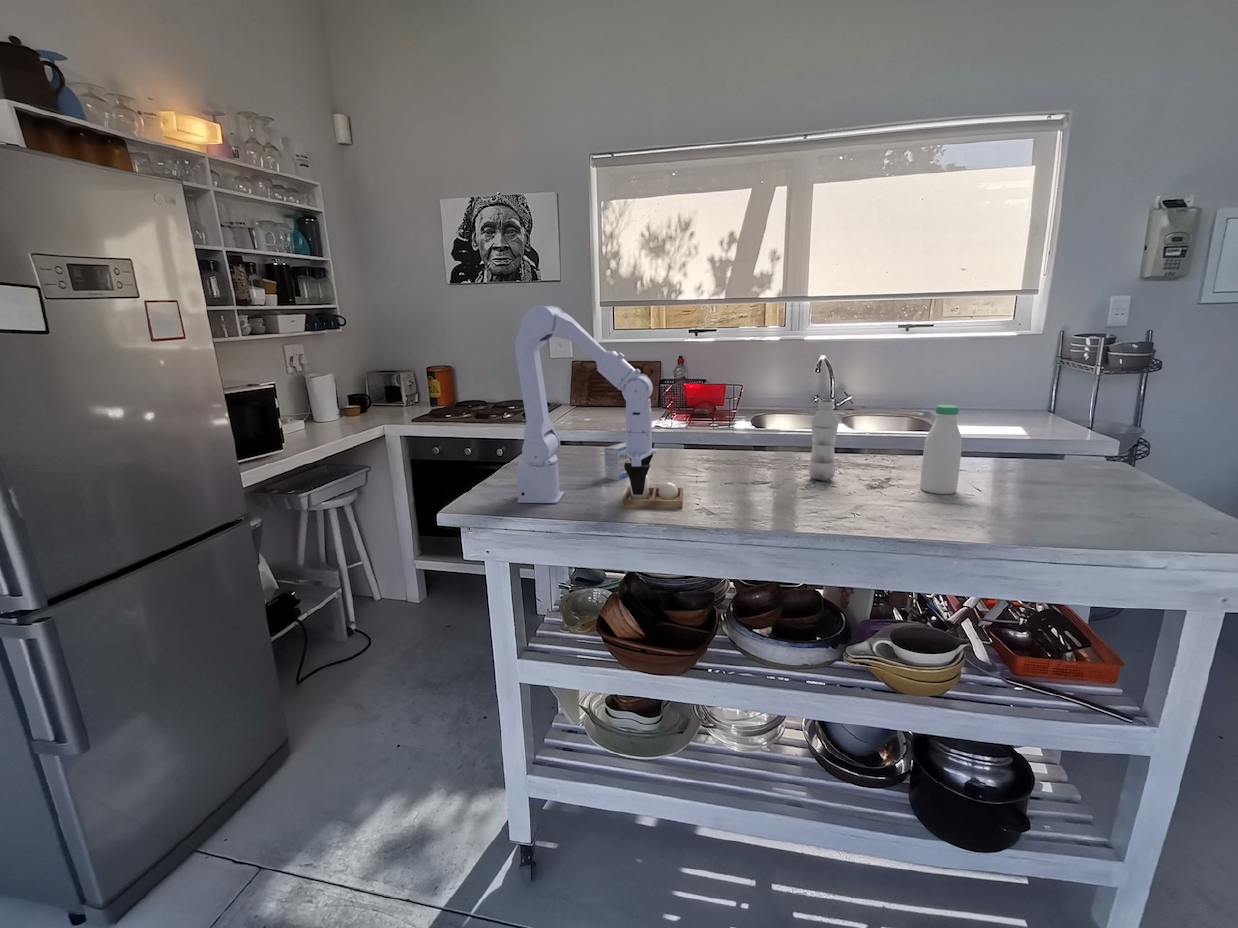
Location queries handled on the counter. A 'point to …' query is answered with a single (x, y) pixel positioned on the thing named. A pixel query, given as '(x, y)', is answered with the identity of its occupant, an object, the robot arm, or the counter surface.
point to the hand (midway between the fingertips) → (639, 489)
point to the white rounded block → (645, 492)
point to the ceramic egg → (668, 491)
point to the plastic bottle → (823, 441)
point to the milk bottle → (942, 453)
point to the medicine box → (616, 461)
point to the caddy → (653, 500)
